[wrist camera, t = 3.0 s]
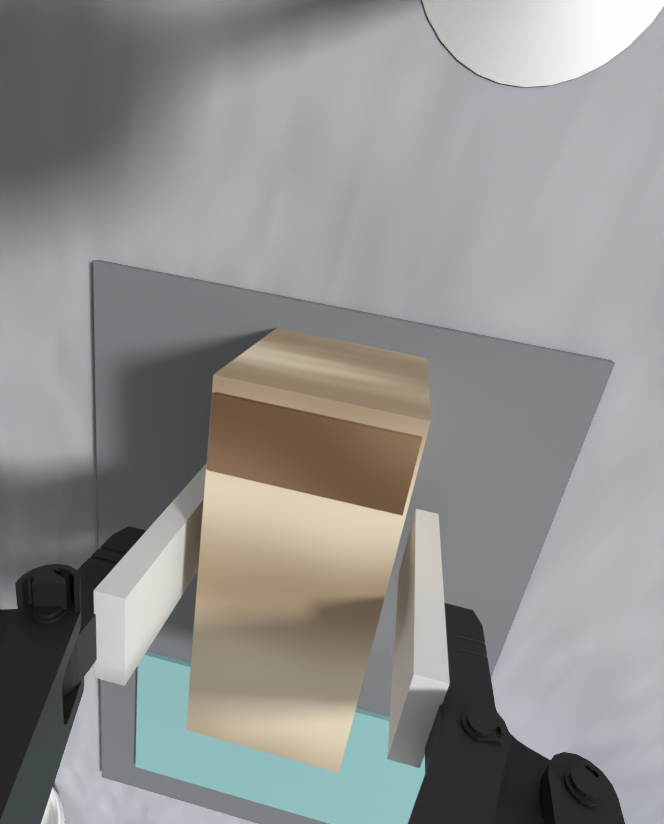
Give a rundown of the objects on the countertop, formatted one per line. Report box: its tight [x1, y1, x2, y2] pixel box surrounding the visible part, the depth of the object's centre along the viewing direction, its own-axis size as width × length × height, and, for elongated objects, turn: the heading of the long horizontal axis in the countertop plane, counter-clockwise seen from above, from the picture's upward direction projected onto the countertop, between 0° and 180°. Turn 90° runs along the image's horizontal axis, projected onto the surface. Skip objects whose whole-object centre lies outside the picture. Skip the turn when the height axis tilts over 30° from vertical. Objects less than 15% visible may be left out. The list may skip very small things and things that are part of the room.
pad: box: [135, 652, 425, 824], centre depth 24 cm, size 14×8×1 cm, turn 81°
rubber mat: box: [93, 260, 615, 824], centre depth 21 cm, size 17×27×1 cm, turn 171°
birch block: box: [186, 328, 431, 773], centre depth 16 cm, size 12×5×6 cm, turn 171°
